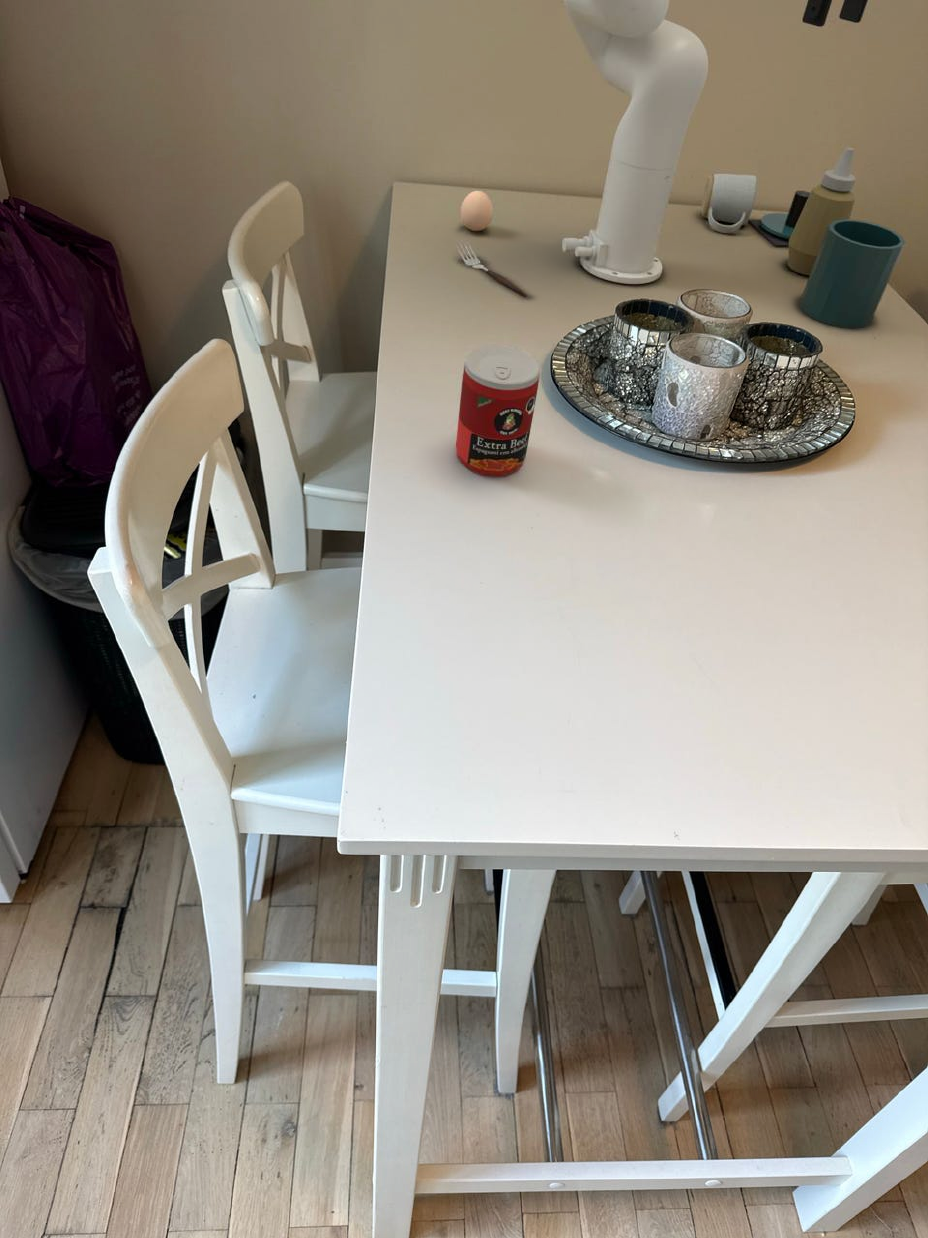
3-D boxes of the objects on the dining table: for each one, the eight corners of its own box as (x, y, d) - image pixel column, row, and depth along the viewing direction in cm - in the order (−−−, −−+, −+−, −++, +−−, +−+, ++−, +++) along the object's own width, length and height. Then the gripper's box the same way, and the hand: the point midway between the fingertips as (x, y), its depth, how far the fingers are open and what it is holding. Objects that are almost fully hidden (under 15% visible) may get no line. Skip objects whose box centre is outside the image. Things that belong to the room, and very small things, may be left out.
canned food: (465, 480, 91) (477, 385, 84) (446, 438, 97) (455, 345, 89) (535, 475, 93) (552, 381, 86) (512, 433, 99) (526, 342, 91)
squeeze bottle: (825, 262, 145) (870, 143, 133) (835, 282, 139) (884, 160, 127) (776, 256, 145) (817, 136, 133) (785, 276, 139) (828, 153, 127)
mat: (775, 246, 148) (776, 244, 148) (747, 221, 156) (748, 219, 156) (833, 247, 151) (834, 245, 150) (803, 222, 158) (803, 220, 158)
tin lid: (776, 244, 148) (789, 205, 143) (748, 219, 156) (760, 180, 151) (835, 245, 150) (850, 206, 146) (804, 220, 158) (818, 182, 153)
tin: (820, 328, 127) (852, 247, 119) (787, 296, 134) (816, 218, 126) (884, 327, 129) (919, 248, 121) (848, 296, 136) (879, 219, 128)
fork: (518, 300, 124) (520, 286, 123) (453, 257, 133) (455, 244, 132) (533, 297, 125) (535, 283, 124) (467, 255, 134) (469, 241, 133)
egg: (492, 226, 143) (496, 188, 139) (488, 238, 139) (492, 199, 135) (461, 221, 143) (465, 183, 139) (456, 233, 139) (460, 194, 135)
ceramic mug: (697, 208, 158) (710, 163, 152) (743, 215, 158) (757, 170, 152) (700, 231, 150) (713, 184, 145) (748, 238, 150) (762, 191, 145)
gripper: (890, -140, 117) (839, 13, 129) (821, -146, 108) (774, 19, 120) (942, -132, 114) (885, 25, 126) (876, -138, 104) (821, 32, 116)
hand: (831, 22), depth 123 cm, fingers open, 9 cm apart
